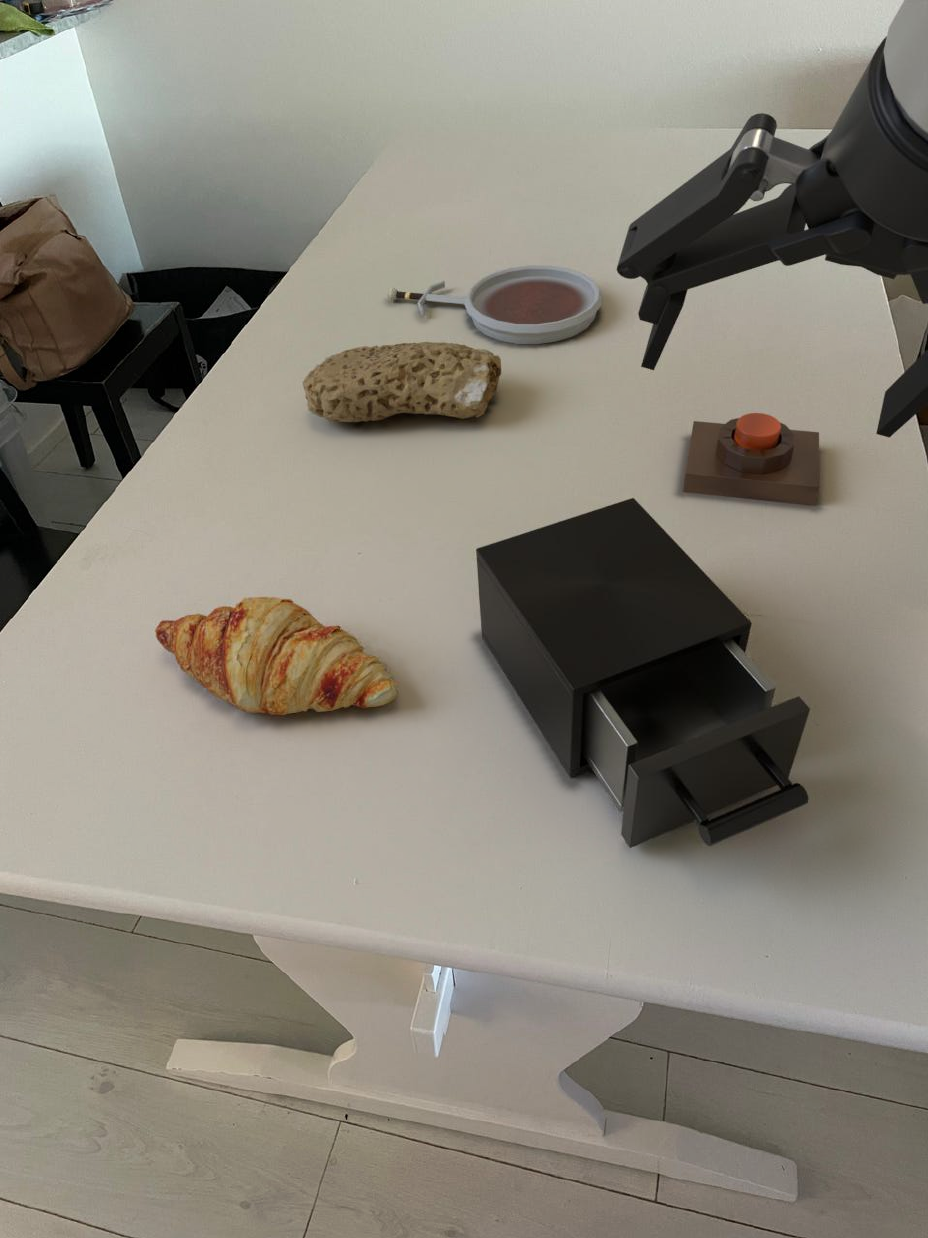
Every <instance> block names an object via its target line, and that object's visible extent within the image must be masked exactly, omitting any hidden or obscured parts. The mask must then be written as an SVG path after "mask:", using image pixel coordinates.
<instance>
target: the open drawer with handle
mask: <svg viewBox="0 0 928 1238" xmlns="http://www.w3.org/2000/svg"><path fill="white" fill-rule="evenodd" d="M776 689H777V686H775V685H774V683H773V682H772V681H771V680H770V679H769V677H767V676H766V675H765V673H764V672H763V671H762V670H761V669H760V668H759V667H758V665H757V664H756V663H755V662H754V661H753V660H752V659H751V658H750V657H749V656H748V655H747V653H746V652H745V653H744V651H743V650H742V649H741V648H740V647H739V646H738V645H737V644H736V643H735V642H734V640H733V639H732V638H729V639H726V640H724V641H721V642H719V643H716V644H713V645H711V646H708V647H705V648H703V649H700V650H697V651H695V652H692V653H689V654H687V655H684V656H681V657H679V658H676V659H673V660H671V661H668V662H666V663H663V664H660V665H658V666H655V667H652V668H650V669H647V670H644V671H642V672H639V673H636V674H634V675H631V676H628V677H626V678H623V679H621V680H618V681H615V682H613V683H610V684H607V685H605V686H602V687H599V688H597V689H594V690H591V691H589V692H586V693H583V711H582V733H581V753H582V755H583V756H584V758H585V759H586V761H587V762H588V764H589V765H590V767H591V768H592V769H591V770H592V771H593V773H594V774H595V776H596V778H597V779H598V781H599V782H600V784H601V785H602V787H603V788H604V790H605V792H606V793H607V794H608V796H609V798H610V799H611V801H612V802H613V803H614V805H615V807H616V808H617V810H618V811H619V813H623V814H622V822H621V831H620V832H621V833H620V834H621V837H622V838H623V840H624V842H625V843H626V844H627V846H628V847H629V849H632V848H635V847H637V846H639V845H642V844H644V843H647V842H648V841H651V840H653V839H656V838H658V837H660V836H662V835H665V834H667V833H670V832H672V831H674V830H676V829H679V828H681V827H684V826H686V825H689V824H691V823H693V822H696V823H697V824H698V833H699V836H700V838H701V840H702V842H703V843H704V844H705V845H706V846H708V847H712V846H714V845H717V844H719V843H721V842H723V841H725V840H728V839H730V838H733V837H735V836H737V835H739V834H742V833H745V832H746V831H748V830H751V829H753V828H755V827H758V826H760V825H762V824H764V823H767V822H769V821H772V820H774V819H776V818H778V817H780V816H783V815H785V814H788V813H789V812H792V811H794V810H797V809H799V808H801V807H803V806H805V805H807V804H808V803H809V800H810V799H809V798H810V797H809V795H808V792H807V790H806V788H805V787H804V785H802V784H801V783H799V782H795V783H794V782H792V781H791V780H790V779H789V777H790V775H791V772H792V769H793V765H794V762H795V758H796V756H797V754H798V753H797V752H798V749H799V747H800V743H801V740H802V737H803V733H804V731H805V728H806V725H807V721H808V718H809V715H810V711H811V707H810V706H809V705H808V704H807V703H806V702H805V701H804V699H802V697H800V696H798V695H797V696H795V697H792V698H790V699H788V700H785V701H782V702H780V703H778V704H775V705H772V704H773V700H774V696H775V693H776ZM774 787H778V788H779V789H778V790H775V791H774V792H771V793H769V794H766V795H764V796H761V797H760V798H759V797H758V798H757V799H755V800H752V801H750V802H748V803H746V804H743V805H741V806H739V807H736V808H734V809H732V810H729V811H727V812H725V813H722V814H720V815H718V816H715V817H713V818H711V819H710V818H709V816H710V815H712V814H714V813H716V812H719V811H721V810H723V809H726V808H728V807H730V806H733V805H735V804H737V803H739V802H741V801H744V800H746V799H749V798H751V797H753V796H755V795H758V794H761V793H763V792H766V791H767V790H770V789H772V788H774Z"/></svg>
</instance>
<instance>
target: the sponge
mask: <svg viewBox="0 0 928 1238" xmlns="http://www.w3.org/2000/svg"><path fill="white" fill-rule="evenodd" d="M501 375H502V359H501V357H500V355H495V354H494V353H493V352H491V351H490V350H488V349H486V348H484V349H483V348H473V347H470V346H467V345H465V344H459V343H453V342H451V343H449V342H442V341H441V342H431V341H422V342H403V343H402V342H401V343H396V344H383V345H380V346H378V345H377V344H376V345H373V346H367V345H364V346H358V347H354V348H350V349H346V350H343V351H341V352H339V353H335V354H332V355H330V356H328V357H326V358H325V359H324V360H323V361H322V362H321V363H319V364H316V366H315V367H314V368H313V369H312V370H310V371H309V372H308V374H307V375H306V376H305V378H304V379H303V381H302V387H303V390H304V392H305V395H304V398H305V399H306V400H307V401H306V406H307V409H308V411H309V412H310V413H312V414H314V415H315V416H317V417H319V418H325V419H326V420H327V421H328V422H341V423H359V422H369V421H373V422H376V421H382V420H384V419H387V418H390V417H392V416H396V415H397V414H402V413H403V414H413V415H414V414H415V415H418V414H423V415H441V416H445V417H446V416H447V417H451V418H452V417H453V418H458V419H461V420H462V419H469V418H473V417H475V418H476V419H477V418H479V417H481V416H483V415H484V414H485V412H486V411H487V408H488V406H489V401H490V400H491V399H492V398H493V397H494V396H495V393H496V392H497V391H498V386H499V382H500V377H501Z"/></svg>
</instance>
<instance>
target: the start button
mask: <svg viewBox="0 0 928 1238" xmlns="http://www.w3.org/2000/svg"><path fill="white" fill-rule="evenodd" d="M738 418H739V419H738V421H737V424H736V430H735V435H734V440H735V443H736V444H737V445H739V446H742V447H744V448H746V449H749V450H759V451H763V450H768V449H773V448H774V447H775V446H776V445H777V443H778V439H779V434H780V430H781V424H780V423H781V422H780V421H779V419H777V418H776V417H774V416H773V415H770V414H766V413H763V412H762V413H761V412H751V413H746V414H743V415H741V416H740V417H738Z"/></svg>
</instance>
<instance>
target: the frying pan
mask: <svg viewBox="0 0 928 1238" xmlns="http://www.w3.org/2000/svg"><path fill="white" fill-rule="evenodd" d="M445 281H446V280H442V281H439V282H437V283H434V284H432V285H429V286H428V287H427V289H426V290H425V292H424V293H421V292H420V293H419V292H411V291H406V292H405V291H399V290H398V288H396V287H393V286H392V287H391V288H389V289H388V290H387V293H386V296H387V298H388V299H389V300H390V301H391V302H395V301H397V300H398V299H402V300H403V299H404V300H409V301H410V300H415V301H417V309H418V311H419V313H420V315H421V316H422V317H424V316H425V315H426V314H425V309H424V307H423V305H424V304H425V303H426V302H432V303H433V302H434V303H445V304H457V305H464V307H465V310H466V313H467V314H468V316H469V317H471V319H472V322H473V324H474V327H475V328H476V329H478V331H480V332H481V333H482V334H484V335H485V336H487V337H490V338H493V339H495V340H497V341H501V342H505V343H509V344H511V343H512V344H516V345H542V344H548V343H556V342H559V341H563V340H566V339H569V338H572V337H575V336H577V335H579V334H580V333H582V332H583V331H585V330H587V329H588V328H589V327H590V325H591V324H592V323H593V322H594V321H595V318H596V316H597V313H598V312H597V311H599V309H600V308H601V307H602V305H603V304H602V303H603V294H602V292H601V289H600V288H599V287H598V285H597V283H596V281H595V280H593V279H592V278H590V277H589V276H587V275H586V274H585V273H583V272H581V271H577V270H574V269H571V268H569V267H562V266H555V265H548V264H547V265H546V264H545V265H544V264H528V265H521V266H513V267H508V268H505V269H502V270H501V269H500V270H498V271H494V272H491V273H490V274H488V275H486V276H483V277H482V278H480V279H477V281H476V282H475V283H474V284H473V285H472V286H471V287H470V288H469V289H468V292H467V294H466V296H459V295H458V296H456V295H446V294H435V293H434V292H437V291H439V290H443V289H444V288H446V282H445ZM433 293H434V294H433Z"/></svg>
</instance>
